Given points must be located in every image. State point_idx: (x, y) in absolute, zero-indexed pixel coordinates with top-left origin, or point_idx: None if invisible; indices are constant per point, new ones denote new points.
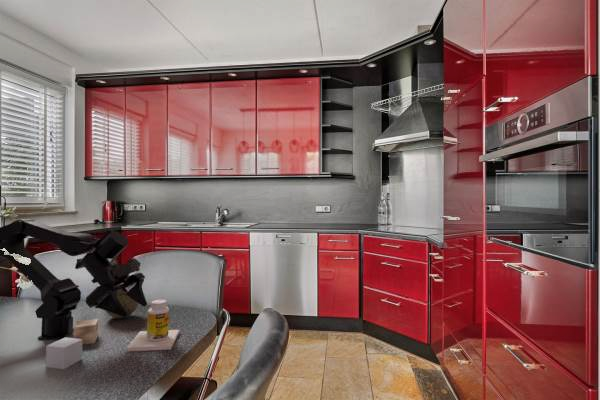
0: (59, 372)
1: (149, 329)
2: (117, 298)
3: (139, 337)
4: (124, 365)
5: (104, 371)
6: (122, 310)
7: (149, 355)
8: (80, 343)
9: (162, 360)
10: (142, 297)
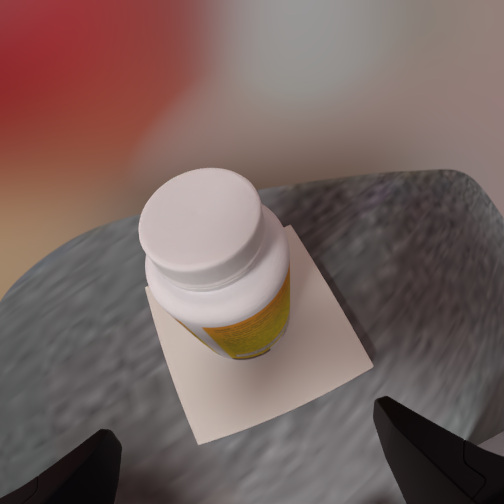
0: None
1: (288, 308)
2: (478, 498)
3: (264, 399)
4: (437, 287)
5: (480, 310)
6: (422, 422)
7: (357, 266)
8: (501, 454)
9: (362, 209)
10: (78, 471)
